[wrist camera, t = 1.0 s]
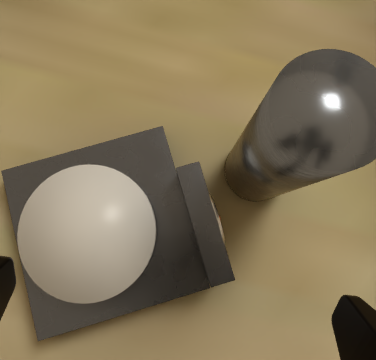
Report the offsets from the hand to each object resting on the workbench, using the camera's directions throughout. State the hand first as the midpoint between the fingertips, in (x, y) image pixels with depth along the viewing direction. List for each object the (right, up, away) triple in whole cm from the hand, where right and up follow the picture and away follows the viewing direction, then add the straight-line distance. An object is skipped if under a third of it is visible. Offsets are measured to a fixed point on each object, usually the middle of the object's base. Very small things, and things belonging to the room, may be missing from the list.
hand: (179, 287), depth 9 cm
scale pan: (-6, 0, +12) cm, 13 cm away
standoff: (+5, +4, +14) cm, 15 cm away
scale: (-5, 0, +13) cm, 14 cm away
